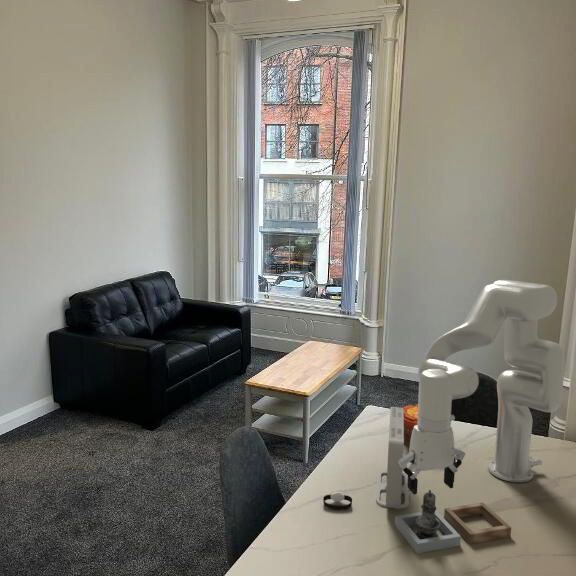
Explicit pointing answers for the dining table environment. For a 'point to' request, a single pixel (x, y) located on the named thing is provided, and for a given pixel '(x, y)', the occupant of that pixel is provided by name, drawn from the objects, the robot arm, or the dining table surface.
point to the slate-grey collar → (431, 543)
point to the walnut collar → (476, 536)
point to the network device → (394, 465)
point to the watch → (337, 498)
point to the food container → (409, 422)
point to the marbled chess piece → (427, 518)
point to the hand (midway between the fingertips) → (430, 488)
